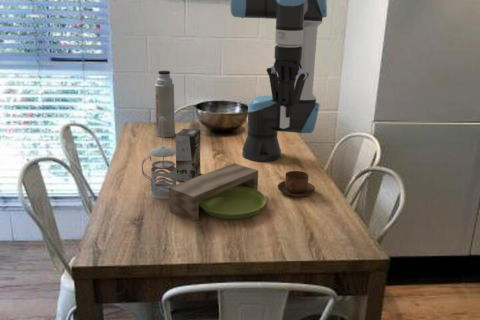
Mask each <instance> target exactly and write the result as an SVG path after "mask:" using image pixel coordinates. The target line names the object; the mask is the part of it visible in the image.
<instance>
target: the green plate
mask: <svg viewBox="0 0 480 320" xmlns="http://www.w3.org/2000/svg"><path fill="white" fill-rule="evenodd" d="M266 203H267V198H266V196H265V194H263V192H261V191H259V190H258V191H257V190H255V189H252V188H248V187H243V186H234V187H232V188H229V189H227V190H224V191H222V192H220V193H217V194H215V195H213V196H210V197H208V198H205V199H203V200H201V201H199V208H201V209H202V210H203V211H204V212H205V213H206V214H208V215H209V216H210V217H211V216H212V217H215V218H218V219H222V220H242V219H243V220H244V219H248V218H250V217H252V216H255V215H256V214H257V213H259V212H260V211H261V210H262V209H263V207H265V205H266Z"/></svg>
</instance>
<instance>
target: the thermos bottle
mask: <svg viewBox="0 0 480 320" xmlns="http://www.w3.org/2000/svg"><path fill="white" fill-rule="evenodd" d="M157 76H158V78H156V80H155V82H156V83H155V84H154V93H155V94H154V95H155V98H154V99H155V100H154V102H155V125H156V127H155V128H156V130H155V131H156V136H157V137H160V138H162V121H159V118H160V117H165V121H163V138H171V137H175V136H176V131H175V129H176V128H175V127H176V126H175V121H176V120H175V85H174V83H173V79H172V77H171V71H169V70H158V75H157Z"/></svg>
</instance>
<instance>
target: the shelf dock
mask: <svg viewBox="0 0 480 320" xmlns="http://www.w3.org/2000/svg"><path fill="white" fill-rule="evenodd" d="M258 183H259V170H258V169H256V168H255V169H254V168H251V167H248V166H244V165H241V164H239V163H235V162H234V163H231V164H229V165H226V166H222V167H221V168H218V169H215V170H212V171H209V172H207V173H204V174H201V175H198V177H196V178H193V179H190V180H188V181H183V182H180V183H178V184H177V183H176V185H174V186H171V187H169V200H168V204H169V205H168V206H169V207H168V208H169V209H168V210H169V212H170V213H173V214H175V215H178V216H180V217H181V218H184V219H187V220H189V221H191V222H195V221H198V220H199V219H200V217H199V213H200V211H199V210H200V209H199V208H200V206H199V201H201V200H203V199H205V198H208V197H210V196H213V195H215V194H217V193H220V192H222V191H224V190H227V189H229V188H232V187H234V186H243V187H248V188H252V189H255V190H257V191H259V190H258V189H259V188H258V186H259V184H258Z"/></svg>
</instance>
